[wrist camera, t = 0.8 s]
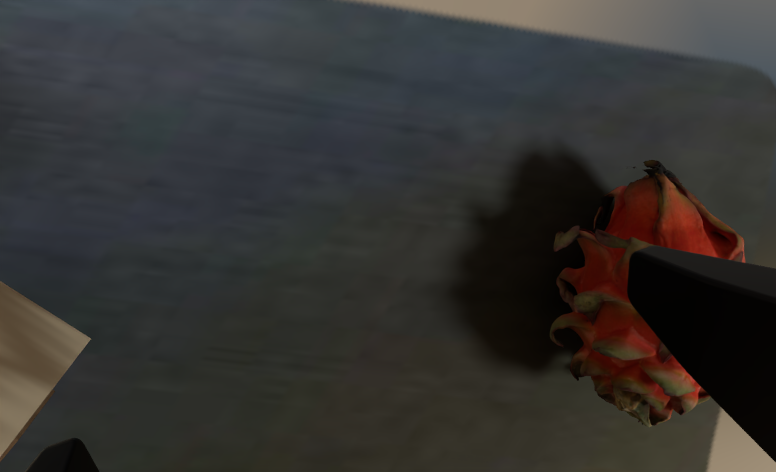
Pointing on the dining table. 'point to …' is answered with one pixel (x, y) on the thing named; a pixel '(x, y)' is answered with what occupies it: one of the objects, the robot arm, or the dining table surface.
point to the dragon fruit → (610, 300)
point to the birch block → (30, 361)
